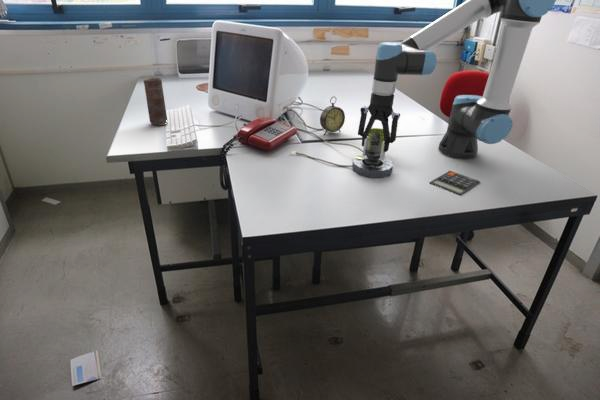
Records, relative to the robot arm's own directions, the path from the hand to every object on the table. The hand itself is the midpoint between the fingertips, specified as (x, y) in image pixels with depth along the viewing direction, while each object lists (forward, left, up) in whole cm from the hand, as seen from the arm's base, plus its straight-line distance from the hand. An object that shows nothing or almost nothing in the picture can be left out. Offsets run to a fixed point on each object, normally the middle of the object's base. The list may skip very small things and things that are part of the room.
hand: (373, 156), depth 146 cm
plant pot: (+5, -16, -5) cm, 18 cm away
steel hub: (0, 0, -5) cm, 5 cm away
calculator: (-28, -8, -6) cm, 30 cm away
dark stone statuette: (0, 0, -2) cm, 2 cm away
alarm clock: (+30, -25, -5) cm, 39 cm away
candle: (+96, +13, -5) cm, 97 cm away
